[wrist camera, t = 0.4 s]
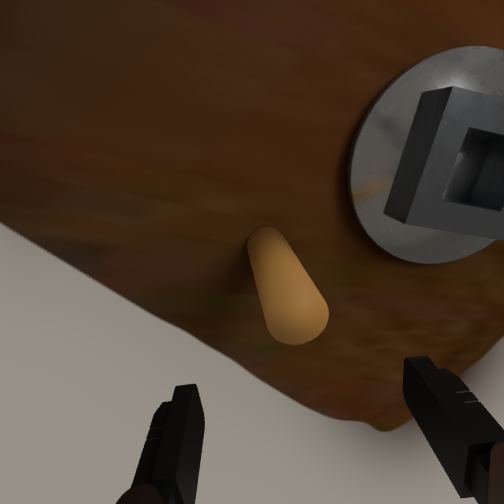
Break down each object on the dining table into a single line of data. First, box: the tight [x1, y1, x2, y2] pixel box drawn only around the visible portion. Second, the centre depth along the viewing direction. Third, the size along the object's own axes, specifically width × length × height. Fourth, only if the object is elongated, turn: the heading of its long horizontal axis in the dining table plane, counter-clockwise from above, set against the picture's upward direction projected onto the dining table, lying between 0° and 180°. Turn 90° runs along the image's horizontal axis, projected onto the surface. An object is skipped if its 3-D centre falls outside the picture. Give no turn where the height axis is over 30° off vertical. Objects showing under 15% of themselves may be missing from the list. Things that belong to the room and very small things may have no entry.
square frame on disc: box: [346, 46, 504, 264], centre depth 30 cm, size 20×20×6 cm
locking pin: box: [247, 227, 329, 345], centre depth 27 cm, size 4×4×14 cm
